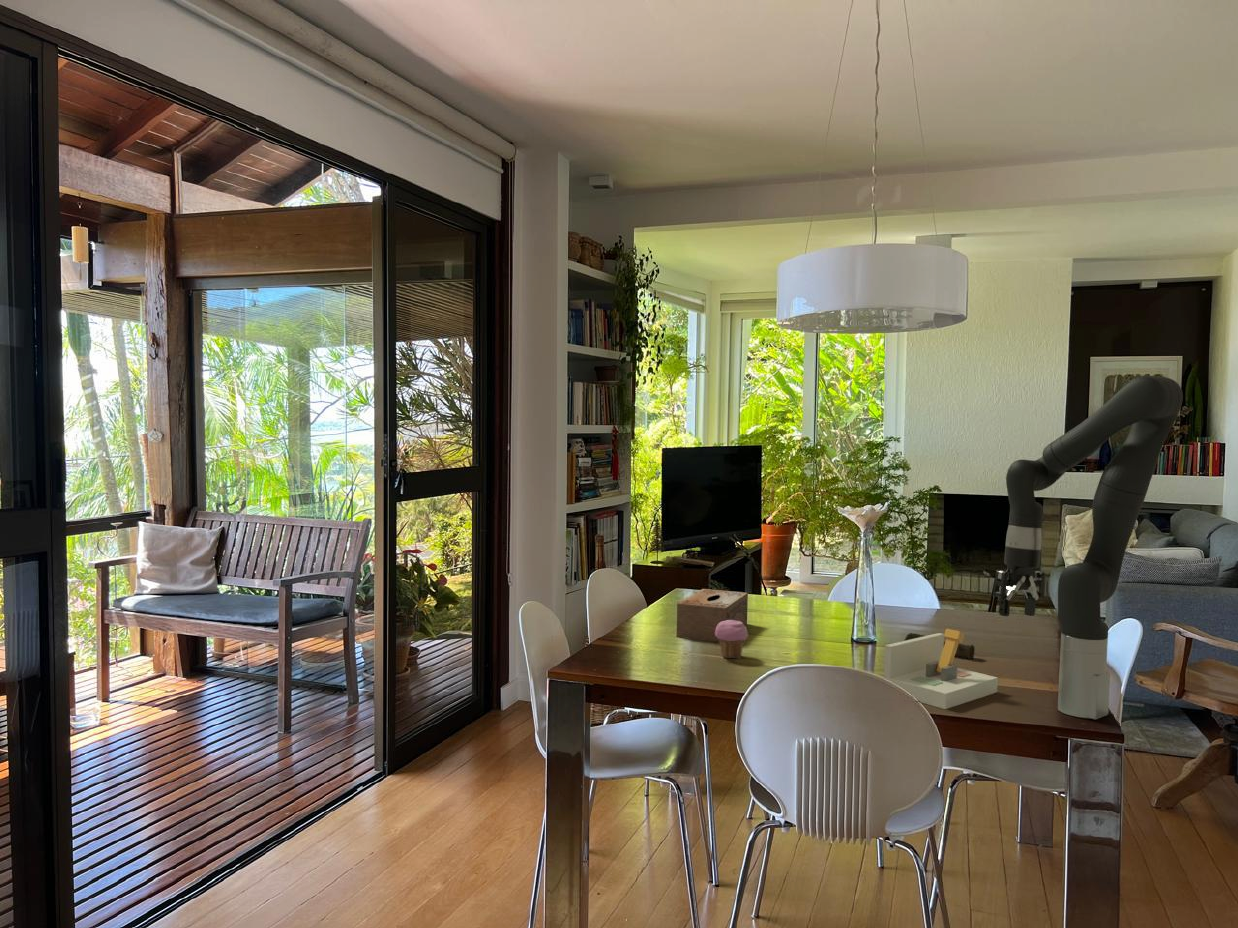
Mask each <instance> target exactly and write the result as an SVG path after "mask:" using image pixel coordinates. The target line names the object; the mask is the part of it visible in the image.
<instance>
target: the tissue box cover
mask: <svg viewBox="0 0 1238 928" xmlns="http://www.w3.org/2000/svg"><path fill="white" fill-rule="evenodd" d="M748 599H749V592H743V591H733V590H732V591H731V590H730V591H729V590H721V589H710V588H709V589H708V588H702V589H700V590H698V591H696V592H695V593H693V594H691V595H690V596H688V597H686V598H685V599H683V600H681V601H679V602H677V605H676V636H675V637H676V638H684V639H691V640H692V639H693V640H701V641H702V640H703V641H710V642H719V643H720V641H719V639H718V638H717V637H716V636H715V630H716V627H717V625H718V624H719V623H720V622H722V621H726V620H735V621H740V622H742V623H743V625H744V626H745V627H746V626H747V625H748V604H749V603H748V602H749V600H748Z"/></svg>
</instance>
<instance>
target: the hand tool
mask: <svg viewBox="0 0 1238 928" xmlns="http://www.w3.org/2000/svg"><path fill="white" fill-rule="evenodd" d="M923 636H926V635H924V634H919V633H912V632H910V633H908V634H906V636H905V637H904V640H903V641H906V640H910V639H915V638H919V637H923ZM945 642H946V641H944V645H945ZM955 657H960V658H967V659H968V660H969V661H971V660H973V659H974V657H975V646H974V644H970V645H968V644H967V645H966V644H961V643H959V644H958V647H957V650H956V654H955Z"/></svg>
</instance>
